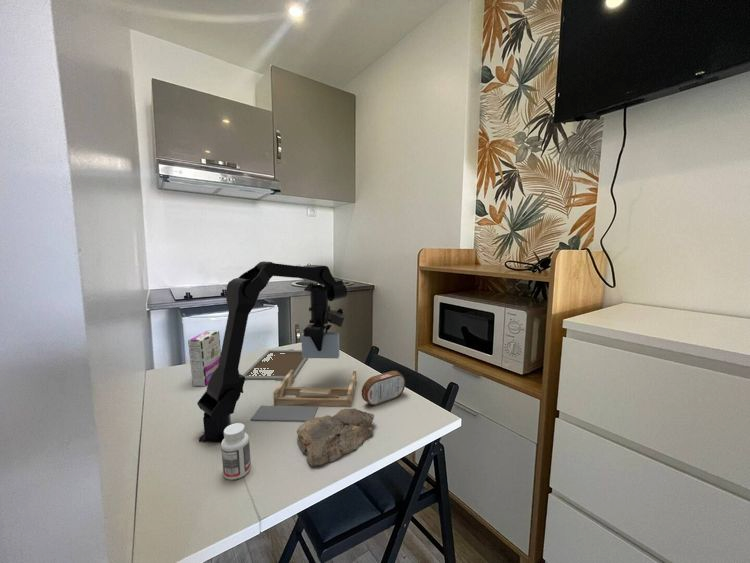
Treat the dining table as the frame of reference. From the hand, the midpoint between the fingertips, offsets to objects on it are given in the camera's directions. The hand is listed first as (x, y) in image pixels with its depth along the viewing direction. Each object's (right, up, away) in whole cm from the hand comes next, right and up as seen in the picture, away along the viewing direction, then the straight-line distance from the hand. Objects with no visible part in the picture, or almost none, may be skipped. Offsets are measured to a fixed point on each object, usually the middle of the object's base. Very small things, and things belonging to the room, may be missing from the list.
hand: (320, 349), depth 101 cm
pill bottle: (-11, -18, -37) cm, 42 cm away
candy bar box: (-41, -12, +6) cm, 44 cm away
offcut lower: (0, -15, -8) cm, 17 cm away
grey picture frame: (-20, -11, +20) cm, 30 cm away
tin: (+21, -14, -8) cm, 27 cm away
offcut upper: (0, -13, -8) cm, 15 cm away
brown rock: (+9, -17, -25) cm, 32 cm away
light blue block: (0, -3, 0) cm, 3 cm away
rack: (0, -13, -3) cm, 14 cm away
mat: (-7, -15, -15) cm, 23 cm away
